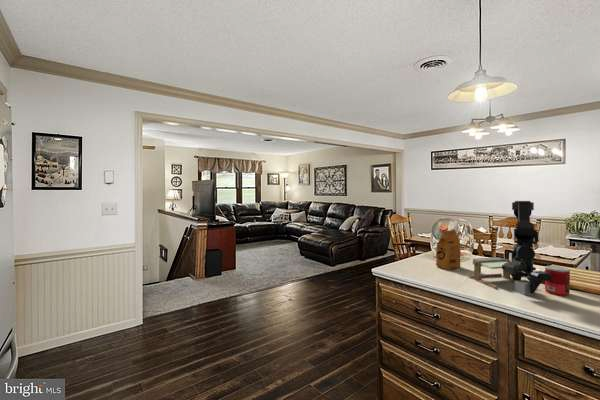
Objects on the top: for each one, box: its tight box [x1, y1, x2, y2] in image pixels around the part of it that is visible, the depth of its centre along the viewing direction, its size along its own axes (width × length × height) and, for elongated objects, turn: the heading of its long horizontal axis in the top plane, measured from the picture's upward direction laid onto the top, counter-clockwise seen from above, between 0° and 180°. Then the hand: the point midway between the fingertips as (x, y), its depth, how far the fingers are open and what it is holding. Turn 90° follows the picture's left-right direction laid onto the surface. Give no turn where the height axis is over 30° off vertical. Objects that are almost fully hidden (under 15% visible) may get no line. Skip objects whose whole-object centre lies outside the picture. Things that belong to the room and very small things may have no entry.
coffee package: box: [435, 228, 461, 271], centre depth 169 cm, size 10×12×22 cm
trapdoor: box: [472, 256, 508, 270], centre depth 143 cm, size 12×14×3 cm
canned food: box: [544, 265, 571, 297], centre depth 125 cm, size 8×8×11 cm
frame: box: [469, 258, 514, 290], centre depth 141 cm, size 17×18×10 cm
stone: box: [514, 279, 536, 296], centre depth 126 cm, size 5×5×5 cm
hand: (524, 290), depth 127 cm, fingers open, 7 cm apart
